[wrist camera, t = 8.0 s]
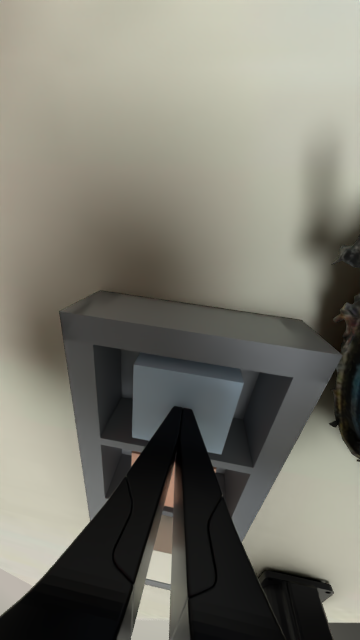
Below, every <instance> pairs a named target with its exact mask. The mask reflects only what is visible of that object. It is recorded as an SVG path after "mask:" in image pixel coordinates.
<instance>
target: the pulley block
mask: <svg viewBox="0 0 360 640" xmlns="http://www.w3.org/2000/svg"><path fill="white" fill-rule="evenodd" d="M340 261H344V262H346V263H347V264H349V265H351V266H353V267H357V268H360V236H359V237H358V239H357V240H356V242H355V243H354V245H353V246H345V245H342V246H341V247H340V250H339V256H338V258H337V259H336V260H335V261H334V263H333V264H335V263H337V262H340ZM333 320H334V322H337V323H338V322H340V321H342V320H345V321H346V331H345V332H344V334H343V336H342V337H343V338H344V340H343V342H342V344H341V353H340V354H342V355H343V356H342V358H341V359H340V361H339V363H338V365H337V367H336V370H337V379H336V389H330V390H333V393H334V397H335V402H334V411H335V417H336V421H334V422H332V423H329V424H330V425H331V426H333V427H336V426H337V425H339V430H340V433H341V436H342V439H343V441H344V442H345V444H346V445H347V447H348V448H349V450H350V452H351V453H352V454H353V455H354V456H356V457H357V458H359V459H360V294H358V295H356V296H354V304H349V303H347V302H346V303H345V305H344V306H343V307H342V308H341V310H340V314H339V315H338V316H336V317H335V318H334V319H333ZM357 461H360V460H357Z"/></svg>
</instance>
